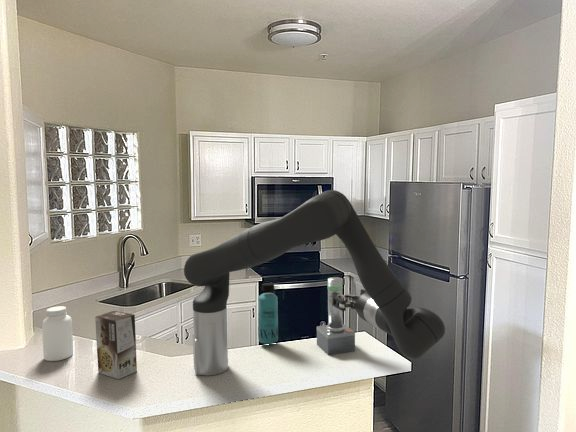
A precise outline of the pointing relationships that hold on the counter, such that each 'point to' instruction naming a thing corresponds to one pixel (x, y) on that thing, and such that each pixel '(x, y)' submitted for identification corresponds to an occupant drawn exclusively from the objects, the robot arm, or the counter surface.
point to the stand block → (335, 340)
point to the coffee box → (116, 344)
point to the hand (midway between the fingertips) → (347, 294)
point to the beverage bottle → (268, 315)
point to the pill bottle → (57, 334)
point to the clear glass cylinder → (334, 313)
